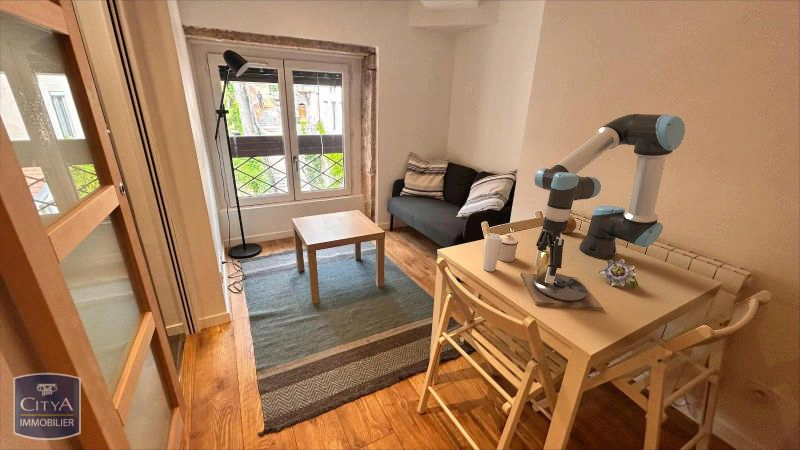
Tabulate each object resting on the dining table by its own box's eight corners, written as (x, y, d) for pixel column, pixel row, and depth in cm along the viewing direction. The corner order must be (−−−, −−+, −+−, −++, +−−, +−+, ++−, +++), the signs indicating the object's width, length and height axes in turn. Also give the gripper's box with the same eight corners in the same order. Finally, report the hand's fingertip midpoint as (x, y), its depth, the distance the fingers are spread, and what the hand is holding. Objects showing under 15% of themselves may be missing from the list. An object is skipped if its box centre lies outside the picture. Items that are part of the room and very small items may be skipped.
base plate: (576, 280, 126) (577, 277, 125) (601, 310, 107) (602, 307, 106) (520, 275, 127) (521, 272, 127) (535, 305, 109) (536, 301, 108)
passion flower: (609, 297, 125) (595, 272, 124) (612, 281, 132) (599, 258, 131) (642, 293, 117) (628, 266, 116) (643, 277, 124) (630, 251, 123)
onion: (552, 228, 180) (555, 212, 176) (570, 230, 179) (574, 213, 175) (558, 235, 171) (562, 218, 167) (577, 236, 170) (581, 219, 166)
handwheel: (529, 272, 126) (535, 242, 122) (577, 279, 123) (585, 248, 118) (537, 297, 110) (545, 263, 105) (593, 305, 107) (603, 271, 102)
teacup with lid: (518, 258, 142) (523, 235, 138) (507, 264, 136) (512, 240, 132) (496, 249, 150) (499, 226, 146) (484, 254, 145) (488, 231, 141)
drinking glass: (488, 274, 128) (493, 240, 122) (477, 266, 133) (481, 234, 128) (500, 270, 131) (506, 238, 125) (489, 263, 136) (494, 232, 131)
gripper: (583, 231, 96) (566, 292, 104) (555, 208, 118) (543, 259, 126) (558, 230, 97) (543, 290, 104) (534, 207, 118) (524, 258, 126)
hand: (543, 273), depth 115 cm, fingers open, 11 cm apart
